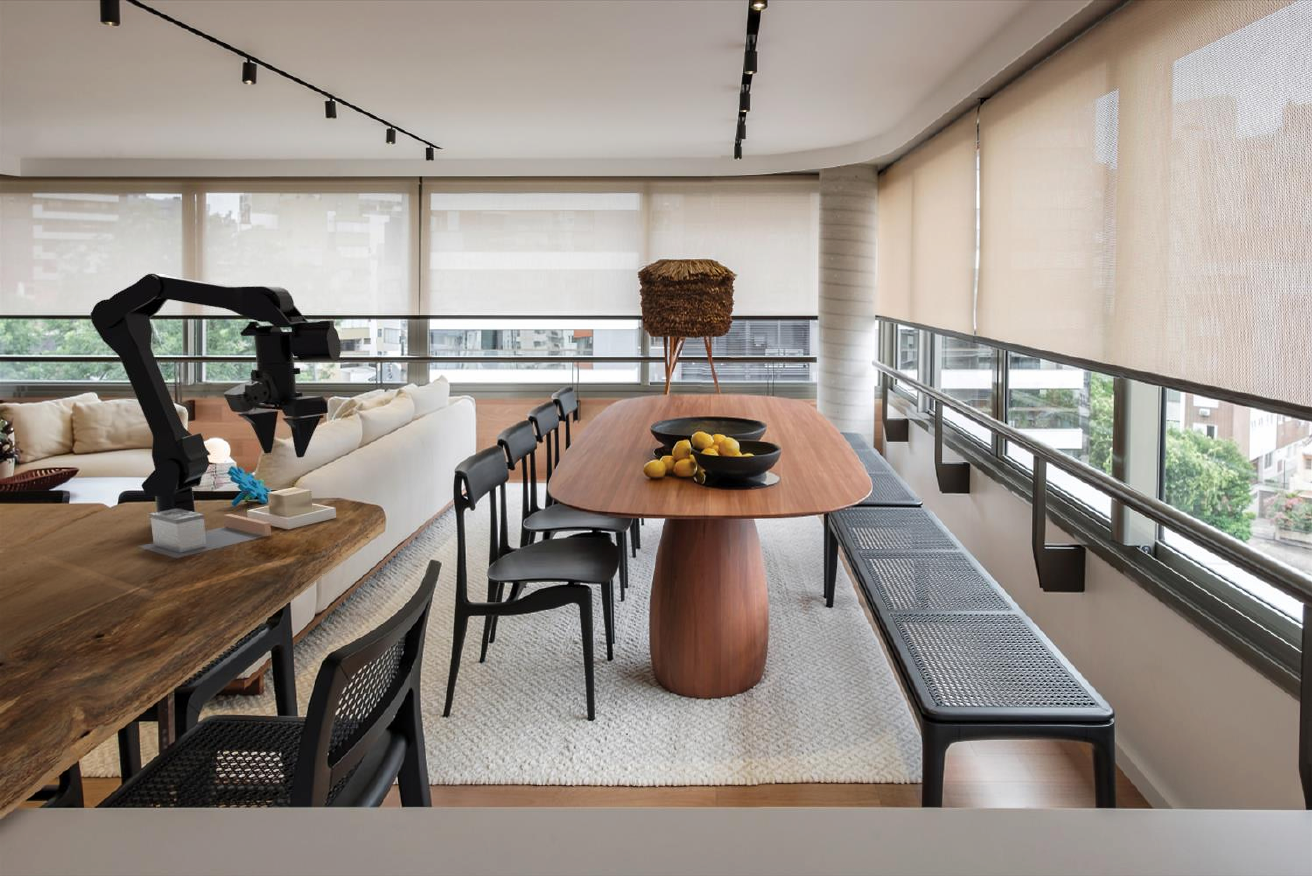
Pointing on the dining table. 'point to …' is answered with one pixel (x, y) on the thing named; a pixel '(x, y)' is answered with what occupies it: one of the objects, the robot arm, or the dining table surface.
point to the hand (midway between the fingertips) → (283, 455)
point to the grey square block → (178, 530)
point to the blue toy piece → (248, 486)
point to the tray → (316, 516)
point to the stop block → (290, 502)
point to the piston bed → (223, 535)
